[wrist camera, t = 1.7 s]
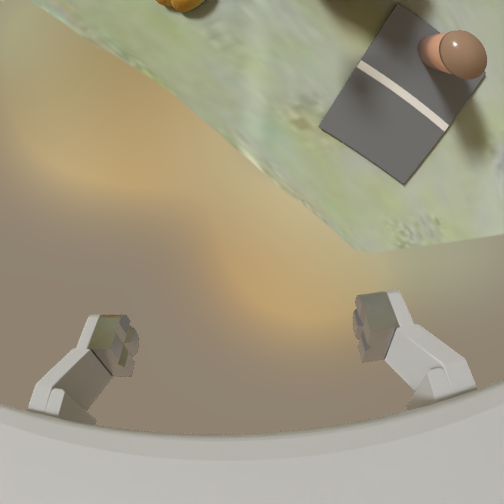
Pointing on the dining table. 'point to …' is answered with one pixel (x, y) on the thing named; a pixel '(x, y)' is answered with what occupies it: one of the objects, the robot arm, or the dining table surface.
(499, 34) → the dining table surface
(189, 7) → the bread roll
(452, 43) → the terracotta jar
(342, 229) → the dining table surface
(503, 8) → the dining table surface
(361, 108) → the throwing lane
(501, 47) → the dining table surface
